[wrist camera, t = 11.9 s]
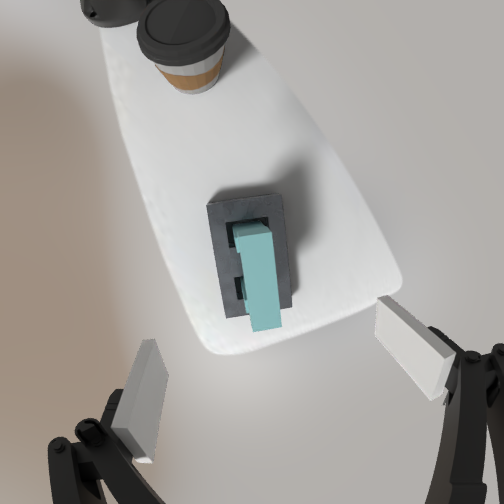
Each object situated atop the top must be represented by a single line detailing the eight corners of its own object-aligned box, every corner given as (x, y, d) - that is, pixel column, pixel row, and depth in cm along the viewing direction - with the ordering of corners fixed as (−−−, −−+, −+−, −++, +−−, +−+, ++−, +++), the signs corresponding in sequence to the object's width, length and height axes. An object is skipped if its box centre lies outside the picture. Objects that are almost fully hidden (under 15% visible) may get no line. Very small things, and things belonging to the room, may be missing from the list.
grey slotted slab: (207, 203, 35) (206, 205, 33) (277, 193, 36) (281, 194, 33) (225, 309, 39) (226, 318, 37) (288, 299, 40) (292, 307, 37)
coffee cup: (234, 55, 30) (243, -8, 16) (216, 108, 32) (214, 64, 17) (175, 44, 29) (153, -17, 14) (155, 97, 30) (117, 53, 16)
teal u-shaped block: (231, 219, 36) (235, 237, 25) (259, 215, 36) (274, 231, 25) (242, 290, 39) (250, 332, 28) (267, 286, 39) (284, 326, 28)
